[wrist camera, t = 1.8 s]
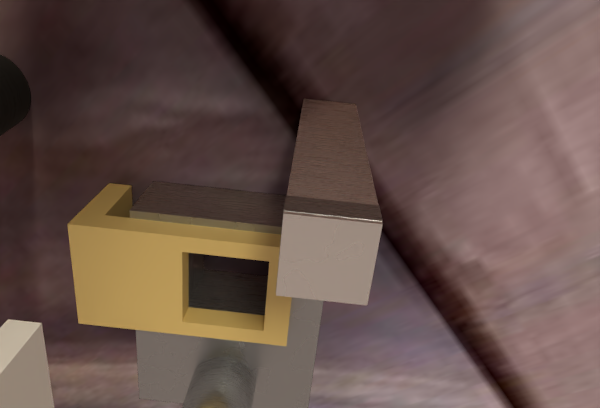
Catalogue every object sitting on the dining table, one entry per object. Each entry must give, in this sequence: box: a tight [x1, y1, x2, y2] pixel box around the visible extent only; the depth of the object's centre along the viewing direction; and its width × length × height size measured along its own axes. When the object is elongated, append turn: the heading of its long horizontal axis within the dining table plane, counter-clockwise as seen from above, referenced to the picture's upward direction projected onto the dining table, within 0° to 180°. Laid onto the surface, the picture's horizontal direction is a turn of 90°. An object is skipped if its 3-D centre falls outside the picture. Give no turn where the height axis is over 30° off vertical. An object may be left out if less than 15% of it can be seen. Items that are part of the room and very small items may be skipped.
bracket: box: [67, 183, 292, 346], centre depth 32 cm, size 7×13×6 cm, turn 84°
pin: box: [276, 98, 383, 305], centre depth 24 cm, size 3×3×16 cm
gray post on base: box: [129, 181, 323, 408], centre depth 28 cm, size 15×12×18 cm
